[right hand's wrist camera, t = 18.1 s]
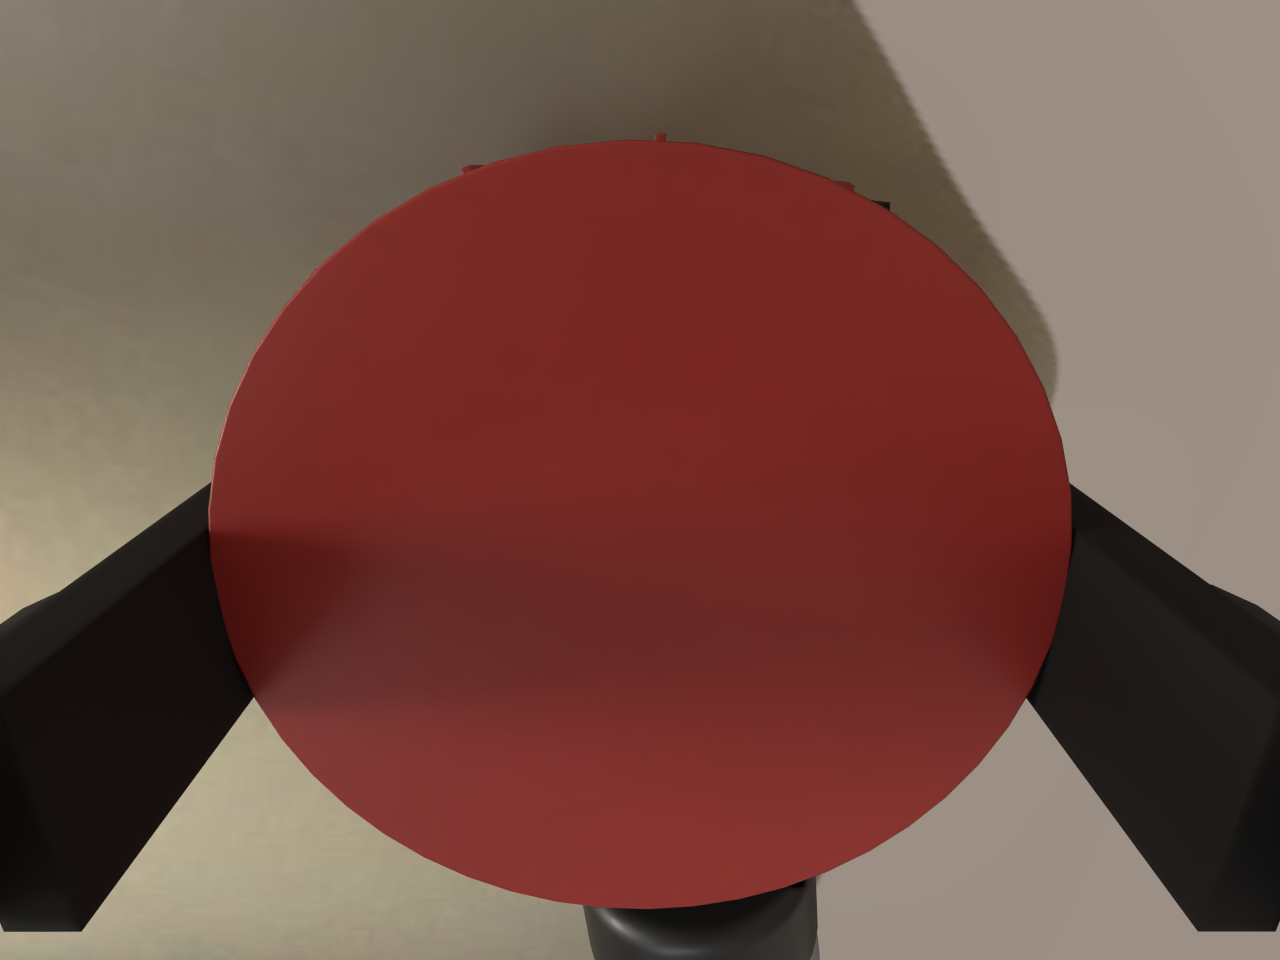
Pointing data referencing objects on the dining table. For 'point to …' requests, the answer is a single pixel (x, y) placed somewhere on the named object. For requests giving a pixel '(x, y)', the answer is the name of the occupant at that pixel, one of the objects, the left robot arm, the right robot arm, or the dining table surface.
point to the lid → (640, 524)
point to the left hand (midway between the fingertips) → (622, 229)
